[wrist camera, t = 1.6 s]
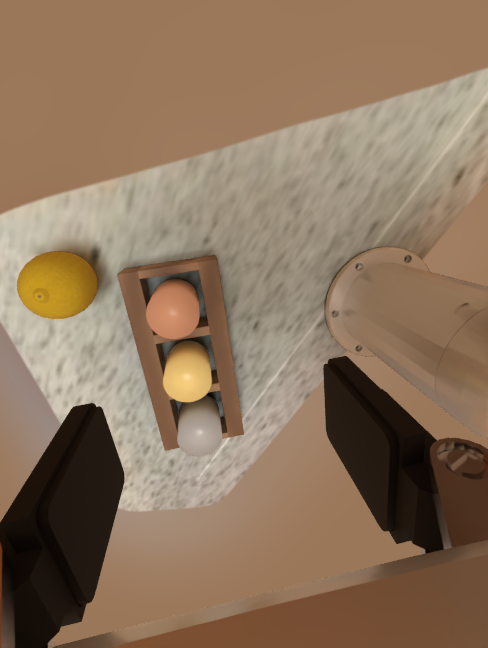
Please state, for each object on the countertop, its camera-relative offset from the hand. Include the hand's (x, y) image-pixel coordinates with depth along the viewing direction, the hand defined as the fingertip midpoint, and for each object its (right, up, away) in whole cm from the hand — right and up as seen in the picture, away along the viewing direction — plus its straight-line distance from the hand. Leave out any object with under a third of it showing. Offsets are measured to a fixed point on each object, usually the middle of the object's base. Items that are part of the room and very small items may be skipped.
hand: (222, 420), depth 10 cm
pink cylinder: (-6, +5, +20) cm, 22 cm away
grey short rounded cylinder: (-4, -7, +25) cm, 26 cm away
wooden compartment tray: (-5, 0, +25) cm, 25 cm away
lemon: (-15, +8, +20) cm, 27 cm away
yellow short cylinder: (-5, -1, +23) cm, 23 cm away
